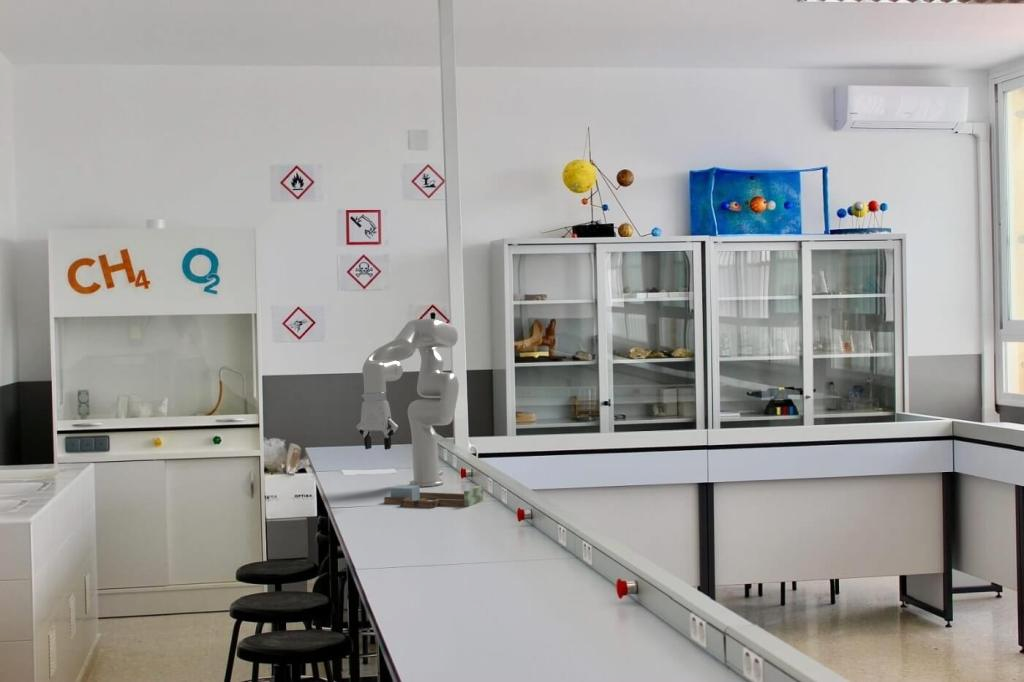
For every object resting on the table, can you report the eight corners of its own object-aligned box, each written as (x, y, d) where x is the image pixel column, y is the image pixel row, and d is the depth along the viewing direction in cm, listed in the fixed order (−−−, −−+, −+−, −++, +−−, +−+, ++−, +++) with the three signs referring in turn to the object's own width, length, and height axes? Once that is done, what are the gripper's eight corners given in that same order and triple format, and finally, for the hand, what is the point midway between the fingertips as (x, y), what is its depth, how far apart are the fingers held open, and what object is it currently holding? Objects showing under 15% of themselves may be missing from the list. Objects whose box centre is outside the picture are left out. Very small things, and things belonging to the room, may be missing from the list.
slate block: (399, 499, 381) (398, 485, 381) (420, 500, 378) (419, 485, 378) (391, 502, 375) (390, 488, 375) (412, 503, 372) (411, 488, 372)
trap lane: (401, 497, 384) (400, 483, 384) (483, 500, 371) (482, 485, 371) (377, 505, 370) (377, 490, 370) (462, 509, 357) (461, 493, 356)
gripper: (348, 398, 380) (350, 450, 380) (391, 398, 373) (394, 450, 373) (359, 396, 387) (362, 447, 387) (402, 396, 379) (405, 447, 380)
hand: (378, 448), depth 380 cm, fingers open, 7 cm apart
